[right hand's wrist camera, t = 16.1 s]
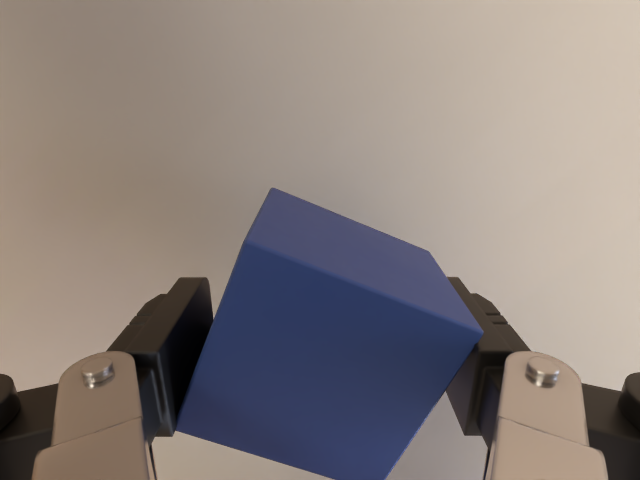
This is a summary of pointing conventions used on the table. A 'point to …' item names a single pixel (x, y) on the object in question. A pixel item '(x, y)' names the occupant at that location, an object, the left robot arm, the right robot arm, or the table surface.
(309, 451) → the blue block
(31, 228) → the table surface
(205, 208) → the table surface
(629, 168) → the table surface
